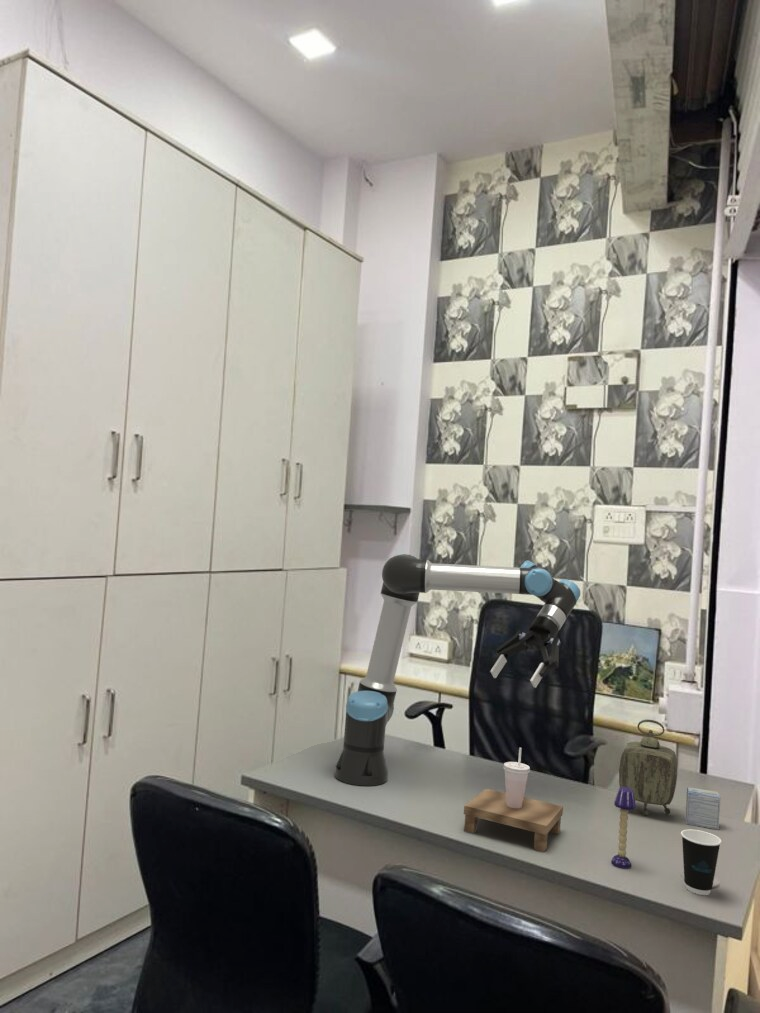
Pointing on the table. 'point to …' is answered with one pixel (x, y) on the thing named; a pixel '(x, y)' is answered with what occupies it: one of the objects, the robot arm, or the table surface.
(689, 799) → the medicine box
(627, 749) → the tabletop clock
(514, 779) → the smoothie
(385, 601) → the robot arm
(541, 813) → the step stool
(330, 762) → the table surface
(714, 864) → the dixie cup
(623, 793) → the toy lamp
